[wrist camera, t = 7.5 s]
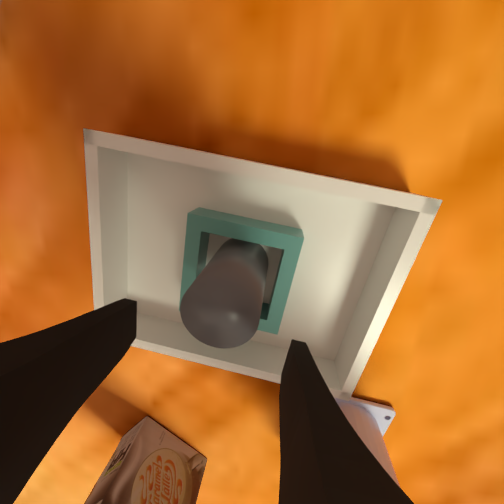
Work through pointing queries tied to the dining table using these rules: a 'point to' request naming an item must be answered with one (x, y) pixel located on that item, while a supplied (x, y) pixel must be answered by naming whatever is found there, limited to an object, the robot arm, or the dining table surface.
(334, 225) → the walled box
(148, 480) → the coffee box
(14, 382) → the robot arm
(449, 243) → the dining table surface
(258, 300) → the cylinder
